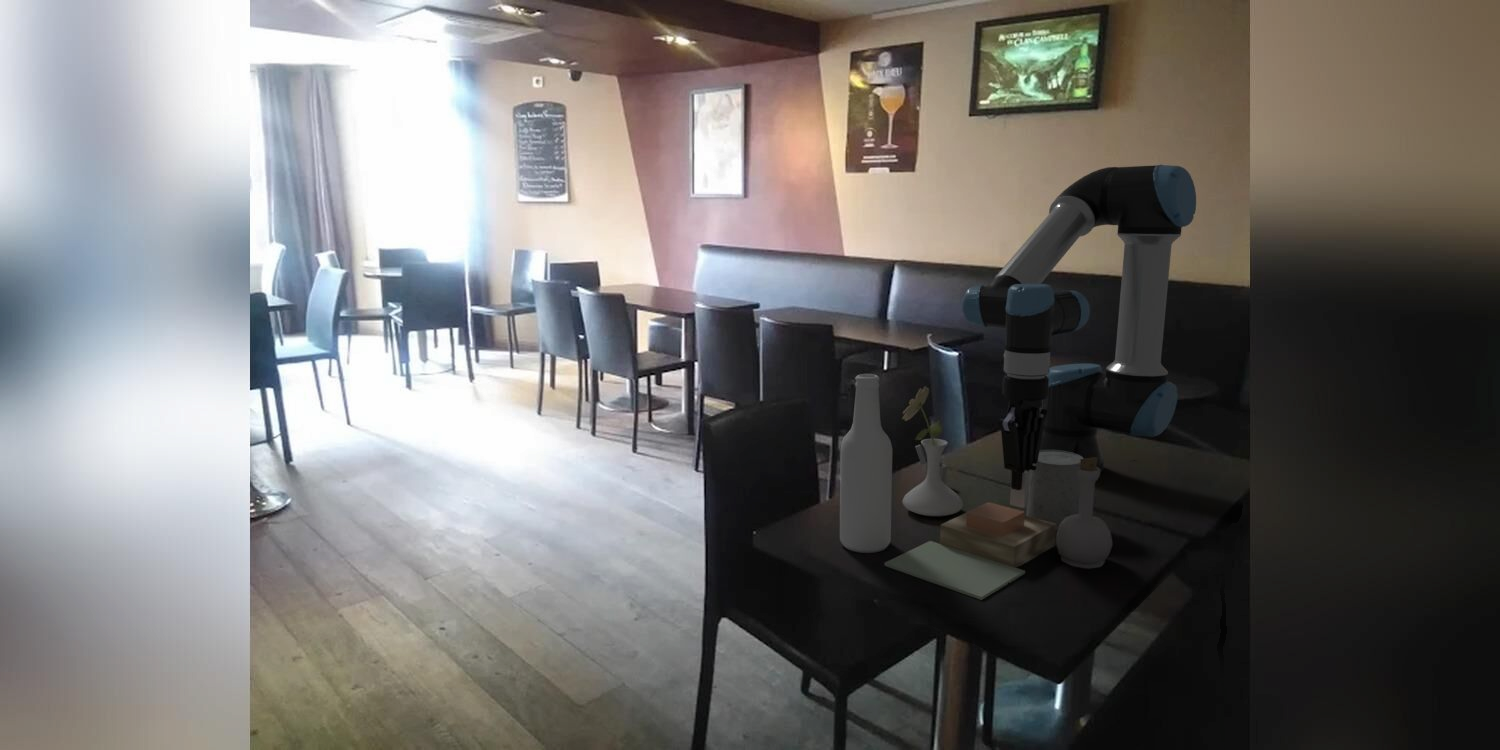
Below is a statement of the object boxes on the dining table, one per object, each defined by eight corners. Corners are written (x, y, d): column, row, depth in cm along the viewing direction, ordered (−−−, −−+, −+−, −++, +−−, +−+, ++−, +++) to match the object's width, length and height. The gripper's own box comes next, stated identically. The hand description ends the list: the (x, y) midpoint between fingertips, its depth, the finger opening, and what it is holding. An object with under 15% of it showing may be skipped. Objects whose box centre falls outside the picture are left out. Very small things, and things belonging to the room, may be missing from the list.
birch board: (982, 525, 161) (983, 504, 160) (1054, 545, 151) (1056, 523, 150) (939, 546, 151) (940, 524, 150) (1013, 570, 141) (1014, 546, 140)
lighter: (946, 485, 183) (947, 448, 181) (941, 487, 182) (942, 450, 180) (919, 477, 188) (920, 442, 186) (914, 479, 187) (915, 443, 185)
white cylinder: (1083, 531, 157) (1088, 466, 154) (1028, 528, 159) (1031, 463, 156) (1075, 513, 166) (1079, 450, 164) (1023, 510, 168) (1026, 448, 166)
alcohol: (838, 534, 157) (839, 371, 151) (887, 534, 157) (890, 370, 151) (841, 554, 148) (843, 381, 142) (893, 554, 148) (897, 381, 142)
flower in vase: (931, 497, 176) (935, 375, 171) (975, 513, 167) (980, 385, 162) (883, 510, 169) (886, 384, 164) (926, 528, 159) (930, 394, 154)
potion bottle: (1082, 575, 139) (1089, 466, 135) (1043, 555, 147) (1048, 452, 143) (1123, 565, 142) (1131, 459, 139) (1082, 546, 150) (1089, 445, 147)
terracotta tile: (987, 515, 154) (988, 502, 154) (1024, 525, 149) (1024, 511, 149) (966, 526, 149) (966, 512, 149) (1003, 536, 145) (1003, 522, 144)
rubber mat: (929, 543, 152) (930, 540, 152) (1024, 573, 140) (1025, 570, 140) (884, 565, 144) (884, 562, 143) (981, 600, 131) (981, 596, 131)
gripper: (1024, 366, 157) (1018, 491, 162) (986, 377, 148) (980, 509, 153) (1064, 372, 152) (1056, 501, 156) (1027, 383, 143) (1019, 520, 147)
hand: (1019, 505), depth 155 cm, fingers closed
